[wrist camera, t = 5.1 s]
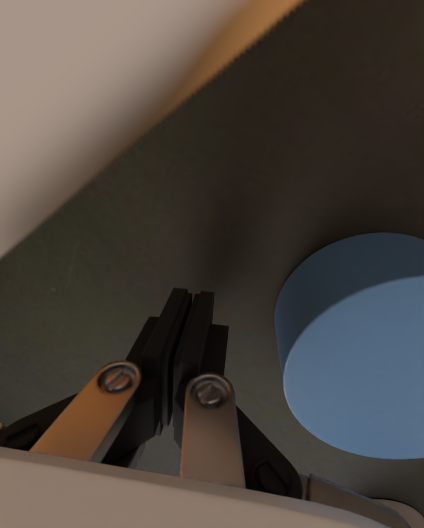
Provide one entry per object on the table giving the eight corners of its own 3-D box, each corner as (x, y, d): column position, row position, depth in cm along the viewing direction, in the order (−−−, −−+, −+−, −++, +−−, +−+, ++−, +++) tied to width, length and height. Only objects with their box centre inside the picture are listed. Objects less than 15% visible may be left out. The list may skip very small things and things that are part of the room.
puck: (312, 208, 11) (341, 242, 8) (511, 262, 11) (631, 319, 8) (252, 357, 14) (253, 426, 11) (403, 398, 14) (452, 481, 11)
